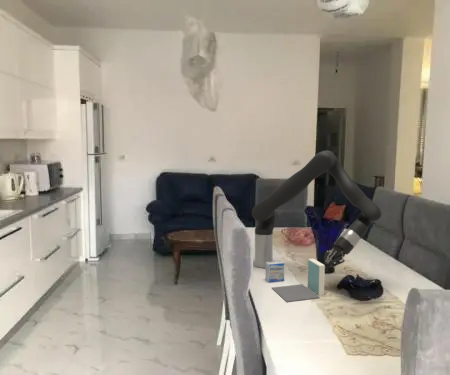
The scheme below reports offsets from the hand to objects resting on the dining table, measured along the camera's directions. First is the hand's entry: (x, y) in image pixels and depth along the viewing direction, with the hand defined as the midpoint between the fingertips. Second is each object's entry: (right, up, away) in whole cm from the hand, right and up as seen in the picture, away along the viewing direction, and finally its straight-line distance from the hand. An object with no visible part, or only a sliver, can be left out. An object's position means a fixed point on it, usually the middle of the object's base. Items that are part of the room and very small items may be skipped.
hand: (321, 270), depth 181 cm
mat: (-12, -9, -3) cm, 16 cm away
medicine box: (-19, -7, +14) cm, 25 cm away
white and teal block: (-3, -9, 0) cm, 9 cm away
